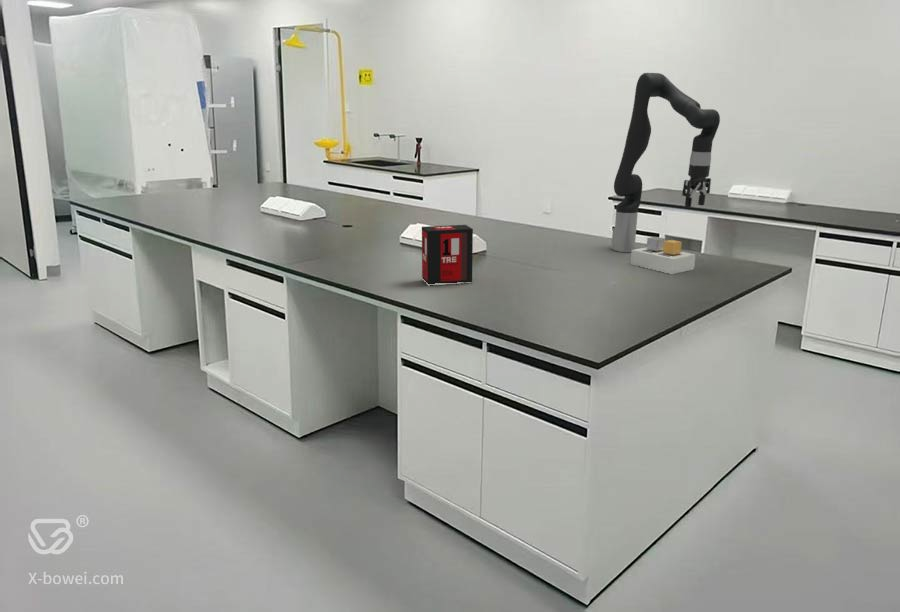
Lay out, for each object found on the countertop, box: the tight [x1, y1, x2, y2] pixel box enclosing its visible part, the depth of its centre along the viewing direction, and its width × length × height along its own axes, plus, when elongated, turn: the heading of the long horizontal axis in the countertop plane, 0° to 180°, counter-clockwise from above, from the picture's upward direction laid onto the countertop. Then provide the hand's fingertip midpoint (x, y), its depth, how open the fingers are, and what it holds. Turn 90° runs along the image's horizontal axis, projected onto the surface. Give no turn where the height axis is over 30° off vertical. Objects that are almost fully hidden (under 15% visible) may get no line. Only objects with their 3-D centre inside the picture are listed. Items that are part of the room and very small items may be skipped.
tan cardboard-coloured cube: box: [663, 239, 683, 255], centre depth 267 cm, size 5×5×4 cm
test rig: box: [629, 246, 696, 275], centre depth 272 cm, size 20×14×6 cm
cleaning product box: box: [421, 224, 474, 284], centre depth 247 cm, size 16×9×20 cm, turn 105°
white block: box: [645, 236, 666, 251], centre depth 273 cm, size 5×5×4 cm
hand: (694, 206), depth 265 cm, fingers open, 8 cm apart
